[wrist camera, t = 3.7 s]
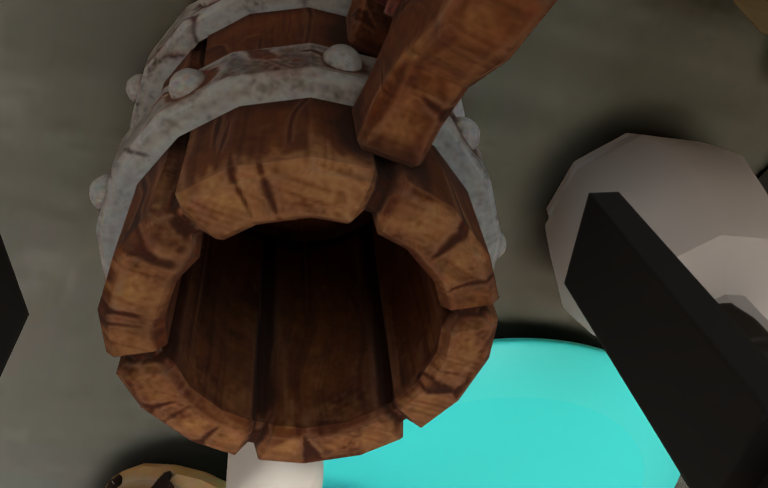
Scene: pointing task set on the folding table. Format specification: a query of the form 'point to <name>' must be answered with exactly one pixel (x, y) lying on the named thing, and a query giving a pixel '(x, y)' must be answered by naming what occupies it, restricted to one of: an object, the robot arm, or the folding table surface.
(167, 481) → the donut
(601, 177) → the potion bottle
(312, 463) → the eye dropper bottle
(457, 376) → the mug
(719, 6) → the folding table surface
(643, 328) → the robot arm
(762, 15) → the squeeze bottle
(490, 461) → the frisbee
